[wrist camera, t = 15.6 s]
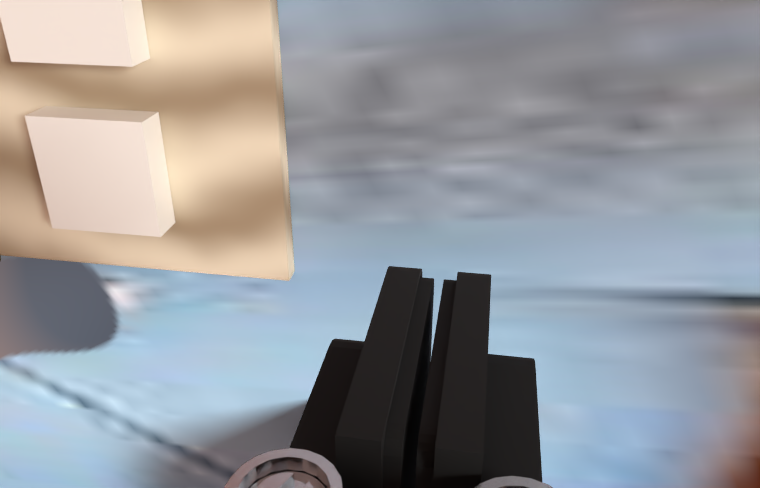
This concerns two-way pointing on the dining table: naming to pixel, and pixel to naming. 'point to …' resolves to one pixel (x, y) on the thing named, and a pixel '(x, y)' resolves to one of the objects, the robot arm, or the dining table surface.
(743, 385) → the dining table surface
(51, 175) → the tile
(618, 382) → the dining table surface
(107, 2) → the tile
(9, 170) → the birch board
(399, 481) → the robot arm
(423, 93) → the dining table surface
